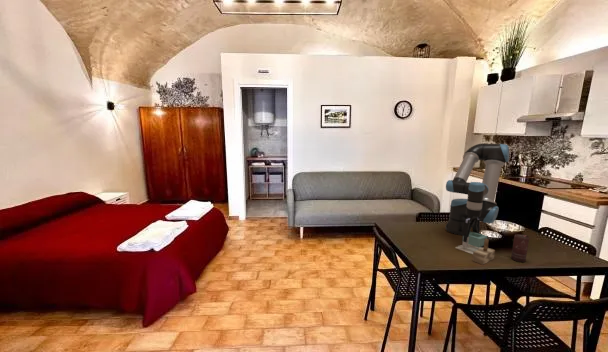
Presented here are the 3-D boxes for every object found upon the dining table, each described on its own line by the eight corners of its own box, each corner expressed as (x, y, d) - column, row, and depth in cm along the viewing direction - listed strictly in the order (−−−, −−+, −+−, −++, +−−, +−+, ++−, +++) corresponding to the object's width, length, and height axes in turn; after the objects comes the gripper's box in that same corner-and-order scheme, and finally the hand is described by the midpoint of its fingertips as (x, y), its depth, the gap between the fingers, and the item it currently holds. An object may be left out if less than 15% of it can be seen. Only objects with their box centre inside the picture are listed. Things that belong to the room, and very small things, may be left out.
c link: (486, 244, 151) (487, 236, 150) (478, 247, 146) (480, 239, 145) (469, 239, 159) (470, 231, 158) (462, 241, 154) (463, 233, 153)
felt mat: (466, 243, 163) (466, 242, 163) (492, 251, 151) (492, 251, 151) (455, 248, 155) (455, 247, 155) (480, 257, 144) (480, 256, 143)
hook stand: (483, 255, 146) (486, 235, 145) (493, 258, 142) (496, 238, 140) (472, 260, 139) (474, 240, 138) (482, 264, 135) (485, 243, 133)
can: (528, 261, 140) (532, 236, 137) (520, 263, 138) (524, 238, 136) (516, 256, 145) (520, 232, 143) (508, 257, 144) (511, 233, 141)
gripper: (475, 204, 160) (471, 239, 164) (457, 209, 149) (453, 246, 152) (489, 207, 154) (484, 243, 157) (471, 212, 142) (466, 251, 146)
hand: (469, 245), depth 155 cm, fingers closed on c link, 9 cm apart
